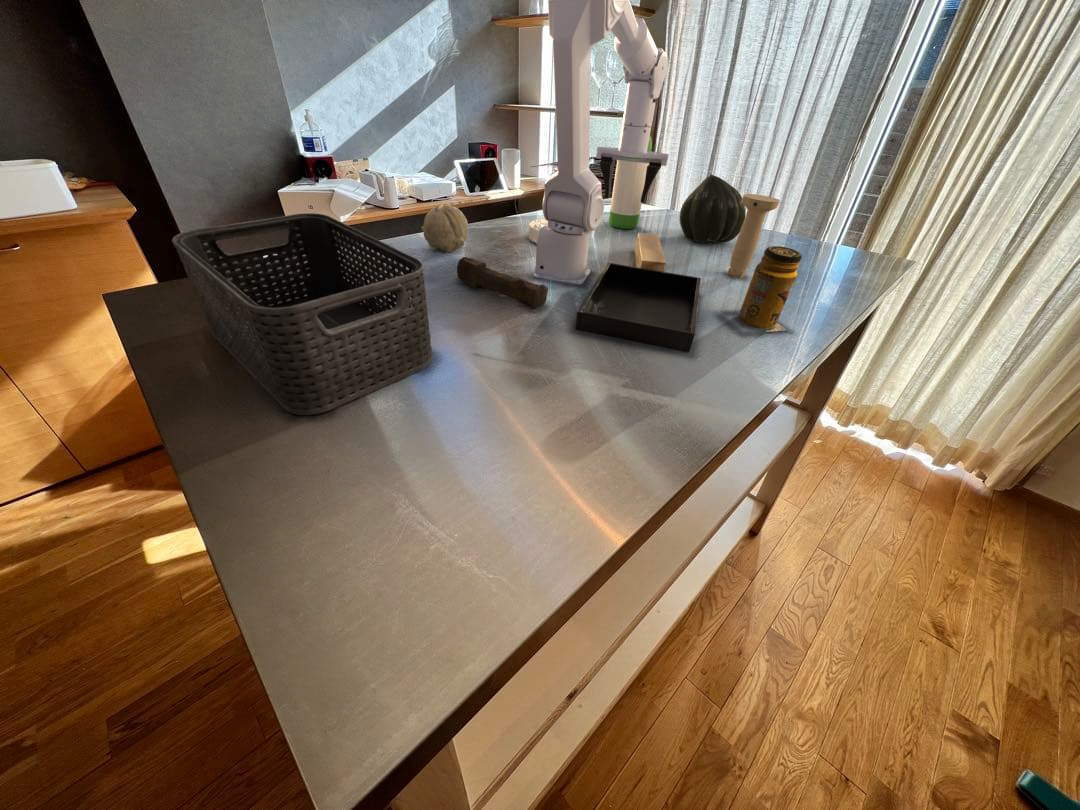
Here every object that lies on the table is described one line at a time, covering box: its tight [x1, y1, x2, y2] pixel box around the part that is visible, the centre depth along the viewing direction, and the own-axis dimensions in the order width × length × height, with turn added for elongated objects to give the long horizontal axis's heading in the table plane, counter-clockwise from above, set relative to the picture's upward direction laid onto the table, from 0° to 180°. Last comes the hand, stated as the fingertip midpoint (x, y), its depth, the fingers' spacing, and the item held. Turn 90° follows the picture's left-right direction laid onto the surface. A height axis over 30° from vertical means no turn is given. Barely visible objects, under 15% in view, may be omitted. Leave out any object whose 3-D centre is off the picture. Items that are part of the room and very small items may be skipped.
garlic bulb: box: [420, 204, 469, 253], centre depth 92 cm, size 9×8×10 cm
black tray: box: [575, 262, 702, 354], centre depth 74 cm, size 17×23×3 cm
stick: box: [634, 232, 666, 272], centre depth 91 cm, size 4×18×4 cm, turn 172°
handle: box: [727, 193, 781, 279], centre depth 87 cm, size 5×6×15 cm
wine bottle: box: [608, 136, 653, 230], centre depth 107 cm, size 8×8×30 cm
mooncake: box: [528, 218, 548, 245], centre depth 103 cm, size 12×12×4 cm
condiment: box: [721, 245, 803, 333], centre depth 70 cm, size 7×8×12 cm
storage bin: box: [171, 212, 434, 416], centre depth 56 cm, size 29×19×13 cm
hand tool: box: [456, 256, 549, 310], centre depth 77 cm, size 19×4×5 cm, turn 53°
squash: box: [679, 174, 747, 244], centre depth 107 cm, size 14×15×15 cm
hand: (624, 199), depth 95 cm, fingers open, 7 cm apart
